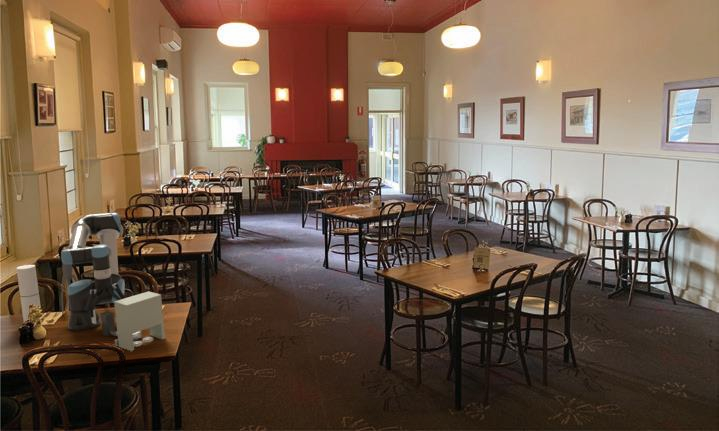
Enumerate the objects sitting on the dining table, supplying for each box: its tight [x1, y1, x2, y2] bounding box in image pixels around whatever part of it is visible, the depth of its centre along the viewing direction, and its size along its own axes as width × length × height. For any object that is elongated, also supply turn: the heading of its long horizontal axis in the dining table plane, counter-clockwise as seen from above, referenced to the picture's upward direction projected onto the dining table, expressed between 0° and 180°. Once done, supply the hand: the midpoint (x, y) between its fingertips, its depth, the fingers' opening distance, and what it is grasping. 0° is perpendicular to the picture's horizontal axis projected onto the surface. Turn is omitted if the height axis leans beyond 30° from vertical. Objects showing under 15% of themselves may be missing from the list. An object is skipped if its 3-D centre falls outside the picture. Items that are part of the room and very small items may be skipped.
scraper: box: [100, 311, 143, 347], centre depth 282 cm, size 20×13×11 cm, turn 53°
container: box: [15, 264, 42, 323], centre depth 307 cm, size 9×9×30 cm
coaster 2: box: [141, 336, 155, 344], centre depth 279 cm, size 5×5×1 cm
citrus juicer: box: [60, 263, 78, 315], centre depth 315 cm, size 11×10×30 cm
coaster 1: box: [133, 340, 143, 348], centre depth 274 cm, size 5×5×1 cm
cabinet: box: [113, 290, 166, 352], centre depth 274 cm, size 10×18×22 cm, turn 143°
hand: (107, 319), depth 286 cm, fingers open, 13 cm apart
